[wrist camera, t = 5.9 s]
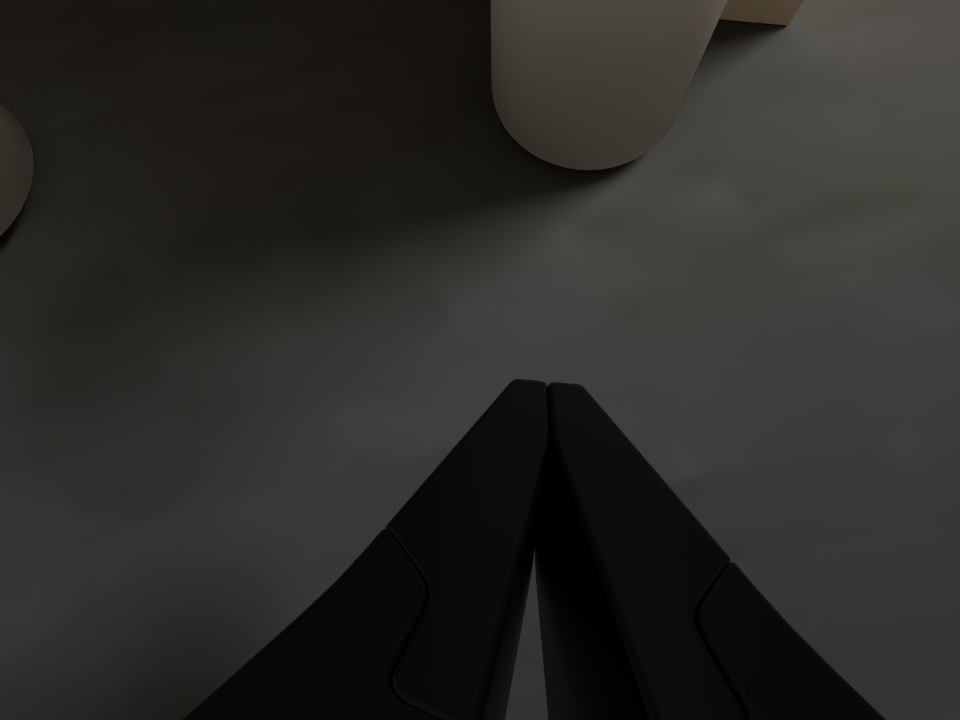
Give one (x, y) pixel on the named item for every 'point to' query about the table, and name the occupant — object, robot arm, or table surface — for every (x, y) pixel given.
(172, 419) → the table surface
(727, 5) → the mount
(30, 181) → the grey capped bottle
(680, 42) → the white cylinder
